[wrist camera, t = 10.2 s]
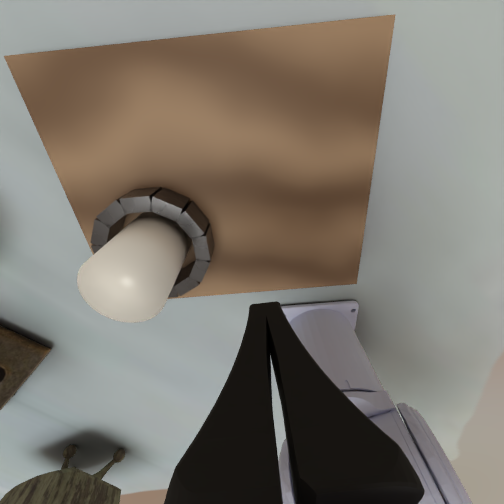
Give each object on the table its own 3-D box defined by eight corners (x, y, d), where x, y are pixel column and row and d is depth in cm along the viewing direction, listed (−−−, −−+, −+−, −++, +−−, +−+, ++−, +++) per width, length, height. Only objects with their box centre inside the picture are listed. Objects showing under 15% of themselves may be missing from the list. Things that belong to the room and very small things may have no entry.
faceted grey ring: (220, 276, 21) (216, 294, 19) (129, 283, 21) (115, 302, 19) (203, 182, 17) (197, 191, 15) (93, 192, 18) (71, 202, 15)
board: (350, 274, 23) (356, 283, 22) (122, 292, 24) (115, 303, 22) (381, 24, 15) (395, 14, 13) (25, 61, 15) (3, 56, 14)
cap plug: (196, 260, 20) (173, 320, 14) (141, 262, 20) (95, 324, 14) (186, 206, 18) (155, 250, 12) (125, 210, 18) (62, 255, 12)
